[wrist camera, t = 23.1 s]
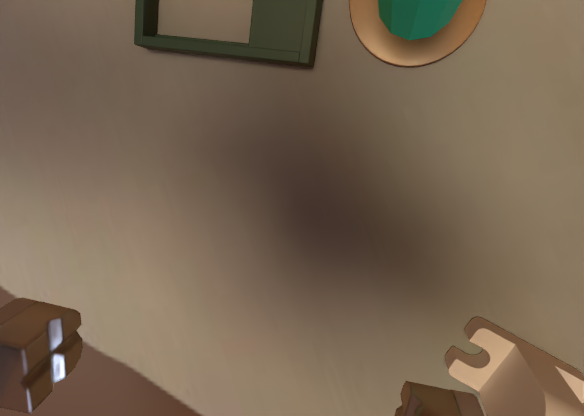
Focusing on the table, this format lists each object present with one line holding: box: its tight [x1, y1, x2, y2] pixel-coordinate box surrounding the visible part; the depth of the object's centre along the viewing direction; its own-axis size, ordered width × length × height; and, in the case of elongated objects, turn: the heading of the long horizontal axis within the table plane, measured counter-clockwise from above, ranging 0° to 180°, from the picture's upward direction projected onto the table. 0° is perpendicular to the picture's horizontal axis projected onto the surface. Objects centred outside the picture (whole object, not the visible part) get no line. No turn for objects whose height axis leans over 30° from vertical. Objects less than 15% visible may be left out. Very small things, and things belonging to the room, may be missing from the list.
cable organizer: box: [445, 317, 584, 416], centre depth 29 cm, size 5×10×10 cm, turn 64°
